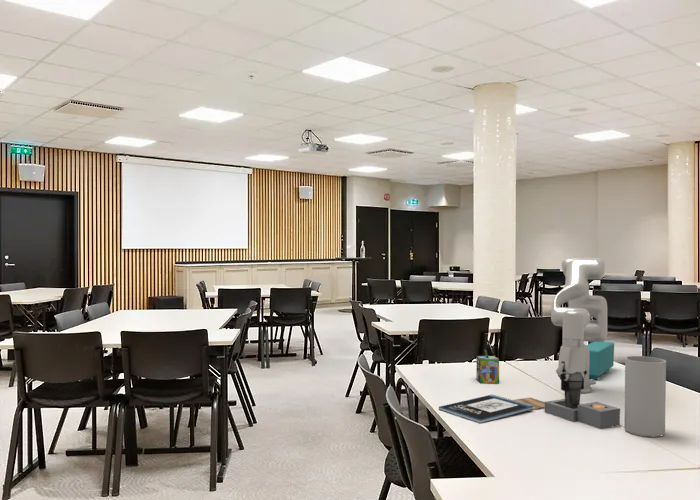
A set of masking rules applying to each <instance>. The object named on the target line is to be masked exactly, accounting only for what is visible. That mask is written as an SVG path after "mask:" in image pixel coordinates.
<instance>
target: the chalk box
mask: <svg viewBox="0 0 700 500" xmlns="http://www.w3.org/2000/svg"><path fill="white" fill-rule="evenodd" d="M484 354H485V355H476V360H475V361H476V375H475V376H476V380H477V382H478V384H500V358H498V357H496V356H494V355H489V354H488V351H487V349H484Z"/></svg>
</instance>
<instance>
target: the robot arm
mask: <svg viewBox="0 0 700 500" xmlns="http://www.w3.org/2000/svg"><path fill="white" fill-rule="evenodd" d="M561 268H562V269H561V271H562V272H563V275H564V276H565V281H564V283H565V284H564V287H563V288H562V289H560V290H559V291H558V292H557V293H556V294H555V295H554V297H553V299H552V302H551V303H552V304H551V310H550V311H551V313H550V319H551V323H552V324H553V325H554V326H557V327H562V344H561V346H560V350H559V354H558V366H557V368H556V370H555V373H556V374H557V376H558V378H559V380H560V390H561V391H563V392H564V391H566V392H568V391H569V381H567V380H568V378H569V375H570V374H573V373H575V372H580V373H581V375H582V379H583V381H582V386H581V394H587V393H589V392H590V393H592V392H593V387H591V386H593V385H596V384H597V380H590V379H589V349H588V348H587V346H586V345H587V344H586V343H584V342H591V343H592V342H603V341H604V342H606V340H607V337H608V303H607V299H606V298H605V297H604V296H602V295H590V285H589V284H590V283H589V282H588V280H602V279H604V276H605V271H606V263H605V261H604V260H603V258H601V257H578V256H577V257H565V258H564V259H563V260H562V262H561ZM565 303H568V305H567V306H568V307H567V306H566V307H565V306H562V305H563V304H565ZM591 318H595V319H596V320H595V319H591ZM565 374H566V376H564V375H565ZM590 393H589V394H590Z"/></svg>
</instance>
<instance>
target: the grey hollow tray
mask: <svg viewBox="0 0 700 500" xmlns="http://www.w3.org/2000/svg"><path fill="white" fill-rule="evenodd" d="M544 402H545V408H544V413H546V414H547V415H551V416H555V417H557V418H560V419H564V420H566V421H569V422H572V423H575V422H578V423H580V424H584V425H588V426H591V427H593V428H597V429H599V430H601V429H606V428H607V429H608V428H612V426H613V427H618V426H617V425H619V426H621V408H620V407H616V406H613V405H609V404H605V403H601V402H598V401H594V402H588V403H581V404H579V405H578V408H576V409H572V408H569V407H566V405H565V398H561V399H555V400H549V401H544ZM594 404H599V405H603V406H605V408H603V409H597V408H594V407H593V405H594Z"/></svg>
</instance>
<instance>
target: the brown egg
mask: <svg viewBox="0 0 700 500" xmlns="http://www.w3.org/2000/svg"><path fill="white" fill-rule="evenodd" d="M593 407H594V408H597V409H603V408H605V406H603V405H599V404H594V405H593Z"/></svg>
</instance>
